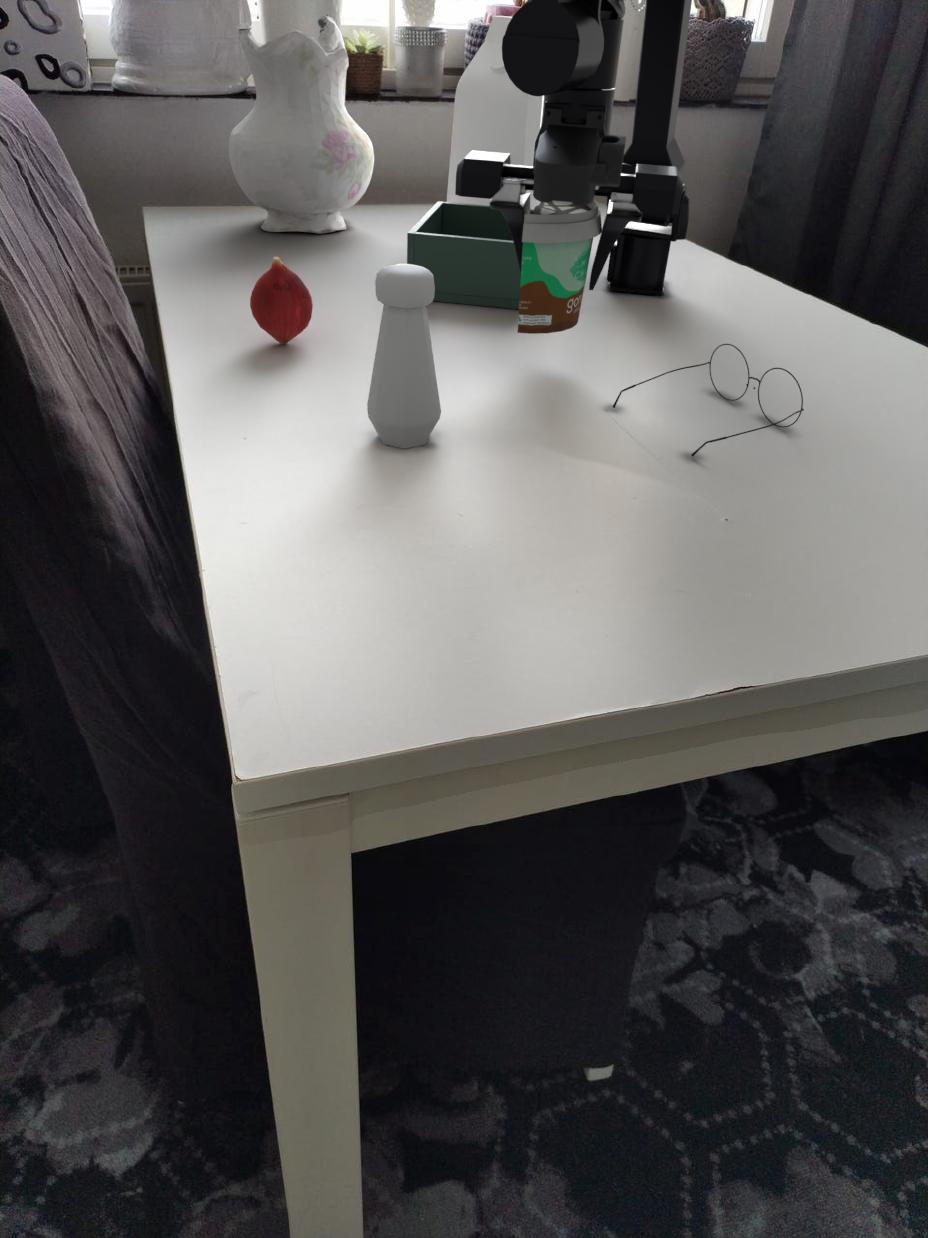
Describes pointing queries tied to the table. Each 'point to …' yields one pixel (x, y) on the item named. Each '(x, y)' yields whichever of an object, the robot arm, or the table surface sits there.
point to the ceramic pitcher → (300, 132)
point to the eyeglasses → (729, 399)
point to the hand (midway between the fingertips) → (557, 285)
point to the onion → (281, 303)
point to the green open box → (467, 255)
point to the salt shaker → (404, 359)
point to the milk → (492, 113)
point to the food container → (555, 264)
